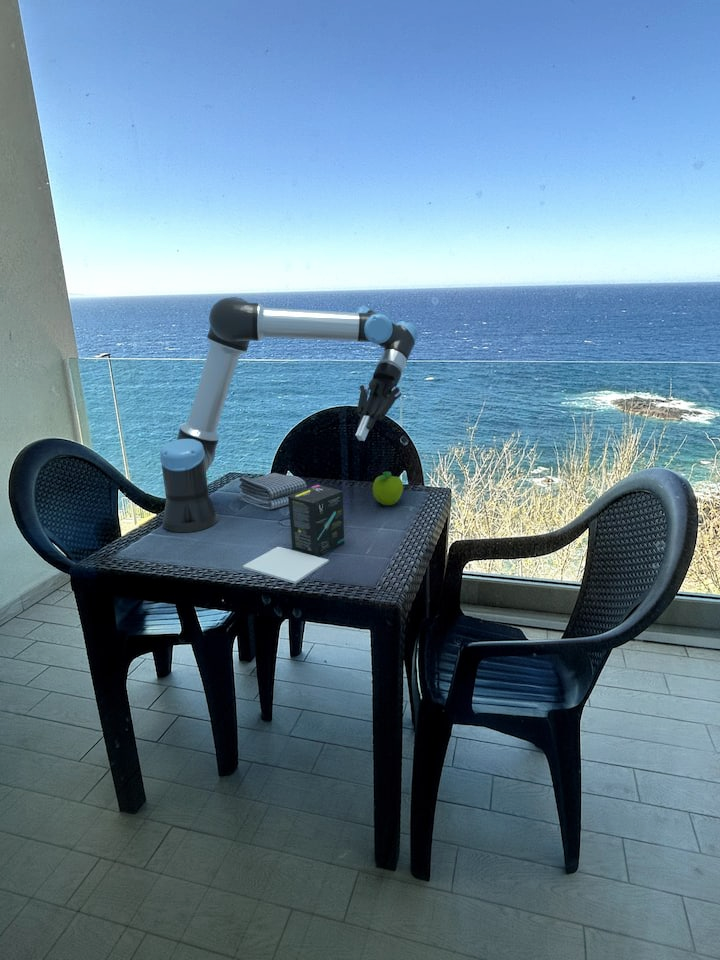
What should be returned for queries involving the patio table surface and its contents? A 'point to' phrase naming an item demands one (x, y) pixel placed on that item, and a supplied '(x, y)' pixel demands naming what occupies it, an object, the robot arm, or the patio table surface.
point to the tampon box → (316, 519)
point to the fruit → (387, 489)
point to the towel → (270, 490)
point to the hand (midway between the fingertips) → (359, 437)
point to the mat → (286, 564)
